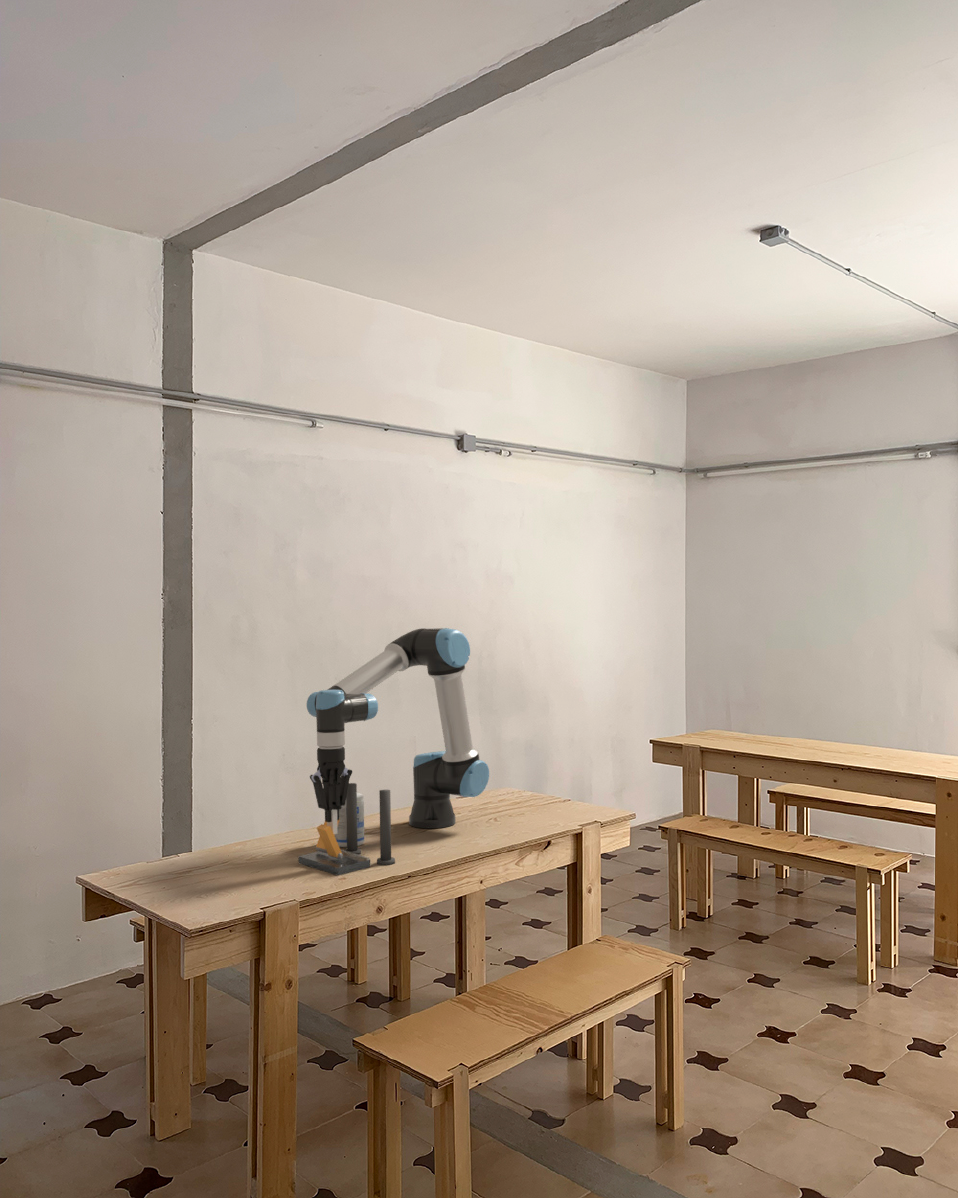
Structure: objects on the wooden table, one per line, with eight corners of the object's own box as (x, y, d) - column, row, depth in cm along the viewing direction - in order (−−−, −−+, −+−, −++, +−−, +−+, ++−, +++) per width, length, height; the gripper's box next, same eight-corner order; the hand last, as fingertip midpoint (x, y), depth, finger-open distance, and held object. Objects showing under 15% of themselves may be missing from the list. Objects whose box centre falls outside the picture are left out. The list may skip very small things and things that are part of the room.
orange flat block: (319, 851, 273) (330, 817, 276) (328, 854, 270) (340, 819, 273) (314, 850, 272) (326, 815, 275) (324, 852, 269) (335, 817, 272)
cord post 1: (353, 850, 282) (352, 781, 282) (364, 853, 279) (363, 783, 279) (340, 853, 279) (338, 784, 279) (350, 856, 275) (349, 786, 275)
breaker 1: (334, 853, 267) (320, 824, 264) (343, 856, 264) (330, 826, 261) (329, 857, 266) (316, 827, 263) (339, 860, 263) (325, 830, 260)
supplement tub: (351, 850, 283) (350, 799, 283) (325, 846, 288) (324, 796, 288) (371, 842, 291) (370, 793, 292) (345, 839, 296) (344, 791, 296)
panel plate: (330, 855, 277) (330, 846, 277) (370, 867, 264) (370, 857, 264) (298, 863, 269) (298, 854, 269) (338, 875, 256) (337, 865, 256)
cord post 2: (387, 859, 272) (386, 788, 272) (398, 862, 268) (397, 790, 268) (373, 863, 268) (372, 790, 268) (384, 866, 265) (383, 793, 265)
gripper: (341, 742, 272) (343, 827, 272) (303, 748, 262) (304, 835, 262) (358, 745, 266) (359, 831, 266) (319, 751, 257) (321, 840, 257)
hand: (332, 833), depth 264 cm, fingers closed
